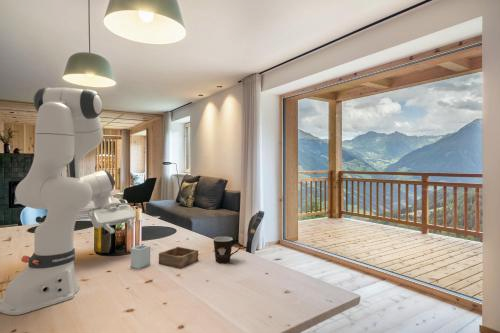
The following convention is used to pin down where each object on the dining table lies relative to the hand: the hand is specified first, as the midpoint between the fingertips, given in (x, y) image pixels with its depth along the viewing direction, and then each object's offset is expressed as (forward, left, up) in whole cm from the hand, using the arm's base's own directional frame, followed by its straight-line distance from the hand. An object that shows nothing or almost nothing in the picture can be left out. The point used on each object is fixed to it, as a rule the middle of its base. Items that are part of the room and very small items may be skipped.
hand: (122, 230), depth 136 cm
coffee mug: (+23, -39, -14) cm, 48 cm away
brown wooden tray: (+12, -22, -14) cm, 29 cm away
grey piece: (0, -11, -14) cm, 18 cm away
